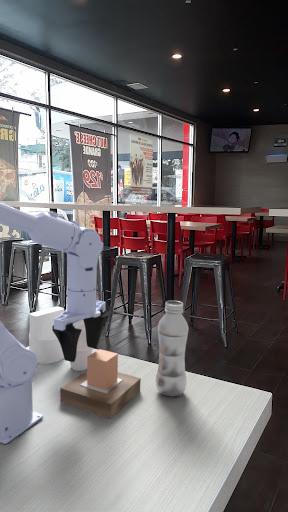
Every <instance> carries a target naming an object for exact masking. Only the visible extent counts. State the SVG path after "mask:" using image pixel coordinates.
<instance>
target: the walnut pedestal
mask: <svg viewBox="0 0 288 512" xmlns="http://www.w3.org/2000/svg"><path fill="white" fill-rule="evenodd" d="M141 382H142V381H141V378H140V377H137V376H134V375H131V374H126V373H123V372H119V371H118V374H117V381H116V382H115V383H114V384H112V385H111V386H110V387H109V388H107V389H106V390H105V389H101V388H98V387H95V386H91V385H88V384H87V370H84V371H83V372H82V373H80V374H79V375H77V377H74V378H73V379H72V380H70V381H68V382H67V383H66V384H64V385H63V386H61V387H60V389H59V395H60V397H59V398H60V399H59V400H60V402H61V403H62V404H63V403H64V405H65V404H66V405H68V406H71V407H74V408H77V409H80V410H84V411H87V412H90V413H92V414H95V415H98V416H102V417H105V418H108V419H112V418H113V417H115V415H116V414H118V413H119V412H120V411H121V410H122V409H123V408H124V407H125V406H126V405H127V404H128V403H129V402H130V401H132V399H134V398H135V396H137V395H139V393H141Z"/></svg>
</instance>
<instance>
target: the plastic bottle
mask: <svg viewBox="0 0 288 512" xmlns="http://www.w3.org/2000/svg"><path fill="white" fill-rule="evenodd" d="M164 312H165V313H164V314H163V316H162V317H161V318H160V320H159V321H158V324H157V334H158V335H157V336H158V344H159V345H158V347H159V357H158V366H157V372H156V374H155V385H156V389H157V390H158V392H159V393H160V394H161V395H164V396H166V397H173V398H174V397H179V396H182V395H183V393H184V392H185V391H186V388H187V383H188V381H187V374H186V366H185V365H186V363H185V357H186V346H187V341H188V334H189V325H188V322H187V320H186V318H185V317H184V316H183V313H184V302H182V301H180V300H167V301H166V302H165V307H164Z"/></svg>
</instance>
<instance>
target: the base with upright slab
mask: <svg viewBox="0 0 288 512" xmlns="http://www.w3.org/2000/svg"><path fill="white" fill-rule="evenodd" d="M64 311H65V308H63V307H61V306H53V307H49V308H45V309H41V310H37V311H34V312H30V313H28V314H29V318H28V319H29V333H28V343H29V344H28V347H29V348H28V350H30V351H32V352H33V353H34V354H35V355H36V358H37V364H53V363H57V362H60V361H62V360H64V355H63V352H62V348H61V345H60V343H59V341H58V339H57V337H56V335H55V334H54V332H53V331H52V326H53V325H54V319H55V318H57V317H59V316H60V315H61V314H62V313H63V312H64Z"/></svg>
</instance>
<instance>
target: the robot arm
mask: <svg viewBox="0 0 288 512" xmlns="http://www.w3.org/2000/svg"><path fill="white" fill-rule="evenodd" d="M58 215H59V213H57V212H55V211H51V210H49V211H48V212H45V211H42V212H39V213H37V214H35V215H32V214H30V213H28V212H25V211H22V210H20V209H17V208H15V207H12V206H10V205H8V204H5V203H3V202H0V225H3V226H5V227H9V228H12V229H16V230H19V231H23V232H26V233H27V235H28V236H29V238H30V240H31V242H33V243H34V244H38V245H40V246H44V247H48V248H50V249H54V250H57V251H58V252H59V251H60V252H62V253H65V254H66V309H64V312H63V313H62V314H61V315H60V316H59V317H57V318H55V319H54V325H53V326H52V331H53V332H54V334H55V335H56V337H57V339H58V341H59V343H60V345H61V348H62V352H63V355H64V358H63V360H65V361H66V362H69V363H70V362H74V361H75V359H76V352H77V343H78V339H79V336H80V333H81V331H82V330H81V329H77V328H75V326H73V324H74V323H76V322H78V321H80V320H82V319H83V321H84V325H85V330H86V342H87V347H90V348H93V349H94V350H95V349H97V348H98V346H99V342H100V338H101V334H102V331H103V330H104V329H103V328H105V325H106V322H107V321H108V319H109V314H108V313H106V312H105V311H106V301H103V300H97V287H98V286H97V284H98V283H97V279H98V278H97V277H98V276H97V275H98V274H97V273H98V272H97V271H98V269H97V268H98V267H97V266H98V263H99V261H98V259H99V255H100V254H101V253H102V251H103V249H104V242H102V238H101V236H100V233H99V234H98V232H97V231H96V230H95V229H93V228H89V227H83V226H80V222H79V221H76V220H72V221H69V220H66V219H64V218H61V217H59V216H58ZM37 368H38V363H37V358H36V355H35V354H34V353H33V352H32V351H30V350H29V348H27V347H26V346H25V345H24V344H22V343H21V342H20V341H19V340H18V339H17V337H15V336H14V335H13V334H12V333H11V332H10V331H9V330H8V329H7V328H6V327H5V325H4V324H3V322H2V321H1V320H0V443H1V444H8V443H10V442H11V441H13V440H14V439H15V438H16V437H18V436H20V435H21V434H22V433H24V432H26V430H27V429H29V428H30V427H32V426H33V425H35V424H36V423H37V422H39V421H40V420H41V419H43V418H44V415H43V413H39V412H37V411H35V410H34V408H33V406H34V405H33V376H34V375H35V373H36V371H37Z"/></svg>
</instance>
